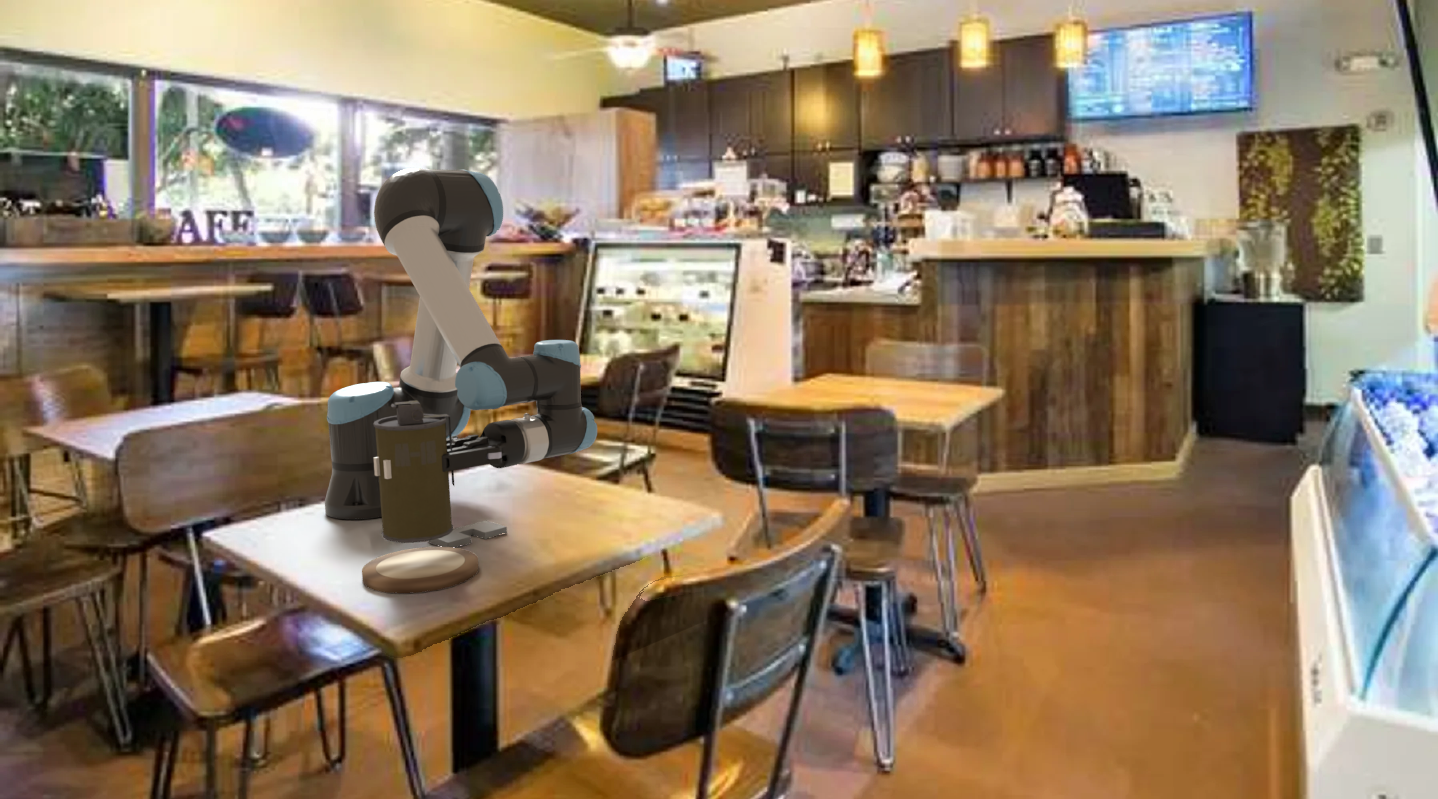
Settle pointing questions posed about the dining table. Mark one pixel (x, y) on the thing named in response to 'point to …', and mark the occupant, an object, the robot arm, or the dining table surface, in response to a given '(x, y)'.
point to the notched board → (469, 534)
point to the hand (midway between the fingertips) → (380, 468)
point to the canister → (414, 474)
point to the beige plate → (420, 570)
